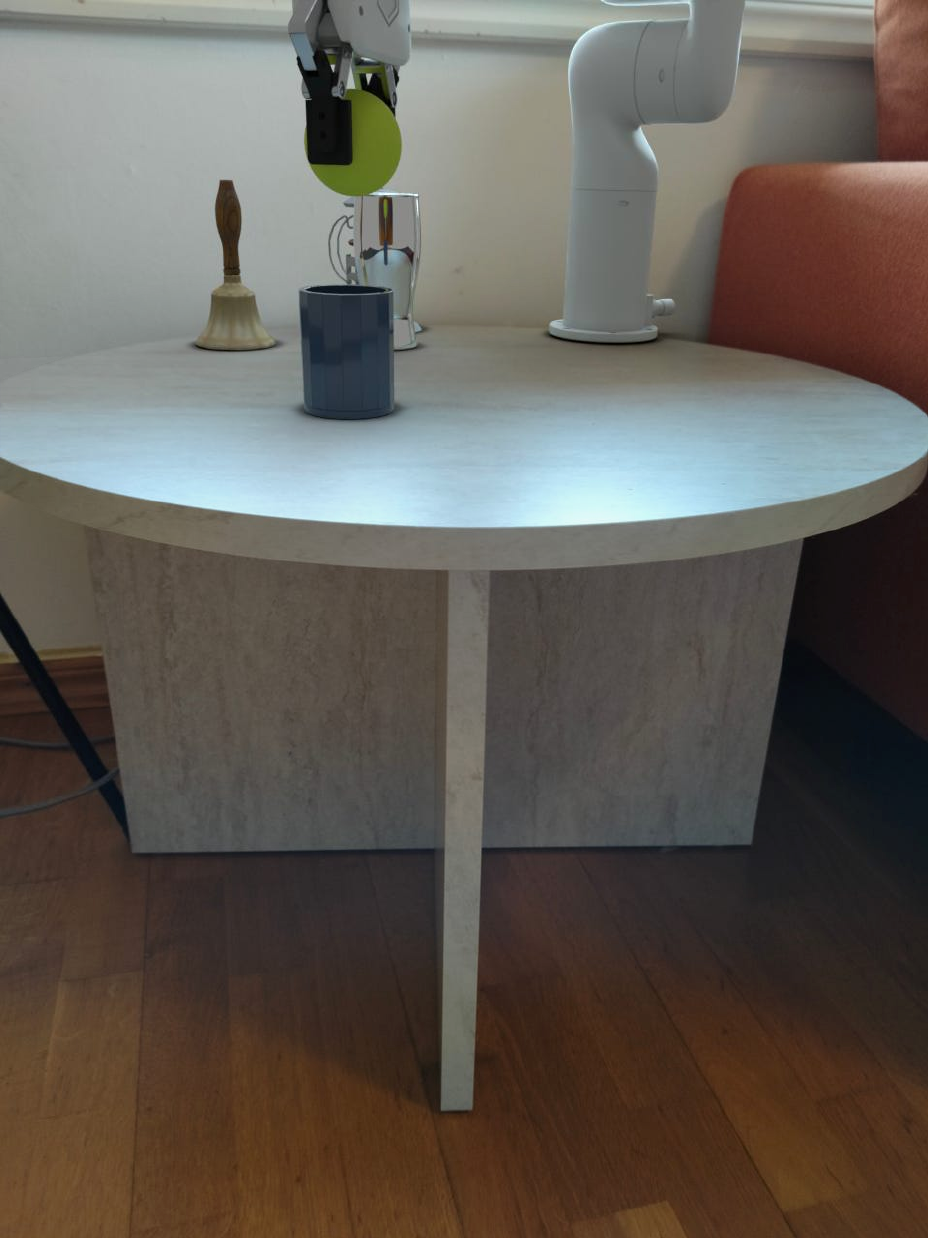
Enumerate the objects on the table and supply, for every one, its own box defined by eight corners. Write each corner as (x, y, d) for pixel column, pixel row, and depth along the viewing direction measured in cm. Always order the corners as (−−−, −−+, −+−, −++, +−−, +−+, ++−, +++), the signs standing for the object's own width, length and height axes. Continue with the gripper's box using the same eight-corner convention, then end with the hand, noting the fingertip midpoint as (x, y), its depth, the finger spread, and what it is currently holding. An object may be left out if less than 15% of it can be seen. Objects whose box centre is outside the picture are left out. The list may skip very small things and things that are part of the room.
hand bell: (288, 340, 107) (280, 180, 101) (255, 352, 100) (244, 180, 93) (218, 336, 109) (206, 178, 102) (181, 347, 102) (165, 178, 95)
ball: (372, 195, 77) (371, 94, 74) (419, 198, 72) (420, 89, 69) (290, 194, 73) (285, 87, 70) (333, 196, 68) (330, 81, 65)
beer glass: (411, 352, 102) (411, 194, 96) (347, 348, 103) (342, 193, 97) (427, 342, 108) (428, 193, 102) (366, 339, 109) (363, 192, 103)
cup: (366, 396, 82) (364, 282, 78) (410, 412, 77) (410, 292, 73) (289, 405, 78) (283, 286, 75) (329, 423, 73) (325, 296, 69)
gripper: (341, -183, 56) (349, 164, 63) (446, -105, 71) (443, 168, 78) (225, -173, 58) (246, 162, 65) (351, -99, 73) (356, 166, 80)
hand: (353, 163), depth 71 cm, fingers closed on ball, 6 cm apart
